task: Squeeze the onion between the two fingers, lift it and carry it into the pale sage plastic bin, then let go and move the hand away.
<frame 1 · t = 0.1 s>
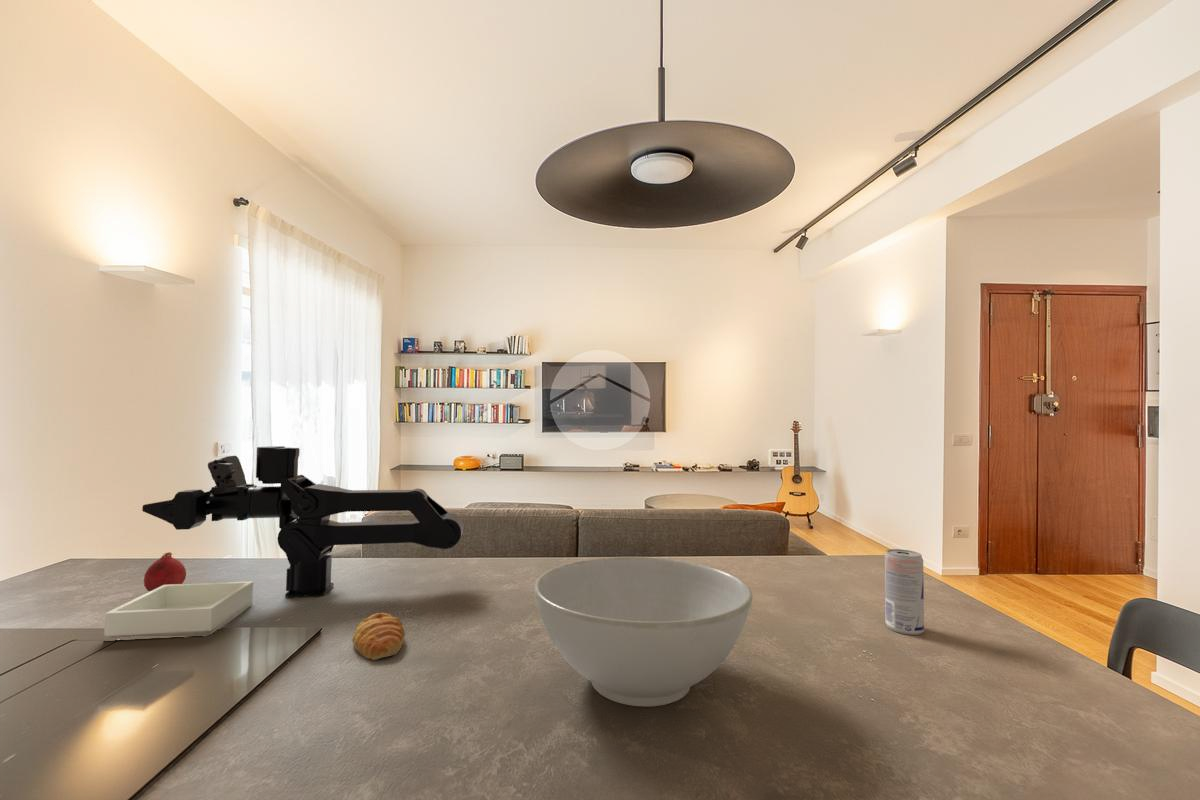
hand: (159, 504, 95), 17 cm above the countertop, tool horizontal, fingers open, 9 cm apart
decorative bowl: (640, 682, 66), on the countertop
bin: (184, 621, 84), on the countertop
energy drink: (904, 630, 85), on the countertop
onion: (164, 599, 95), on the countertop
pastry: (381, 648, 76), on the countertop
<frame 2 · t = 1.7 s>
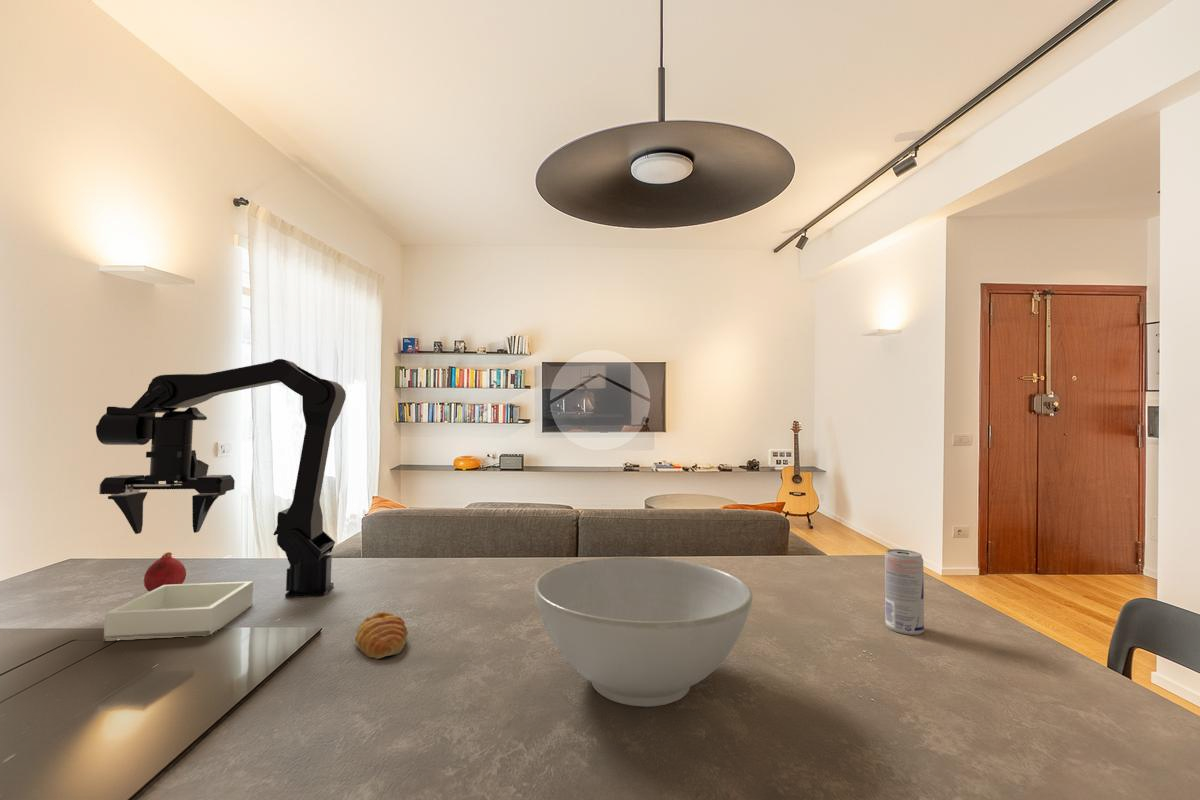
hand: (167, 532, 95), 11 cm above the countertop, tool pointing down, fingers open, 9 cm apart
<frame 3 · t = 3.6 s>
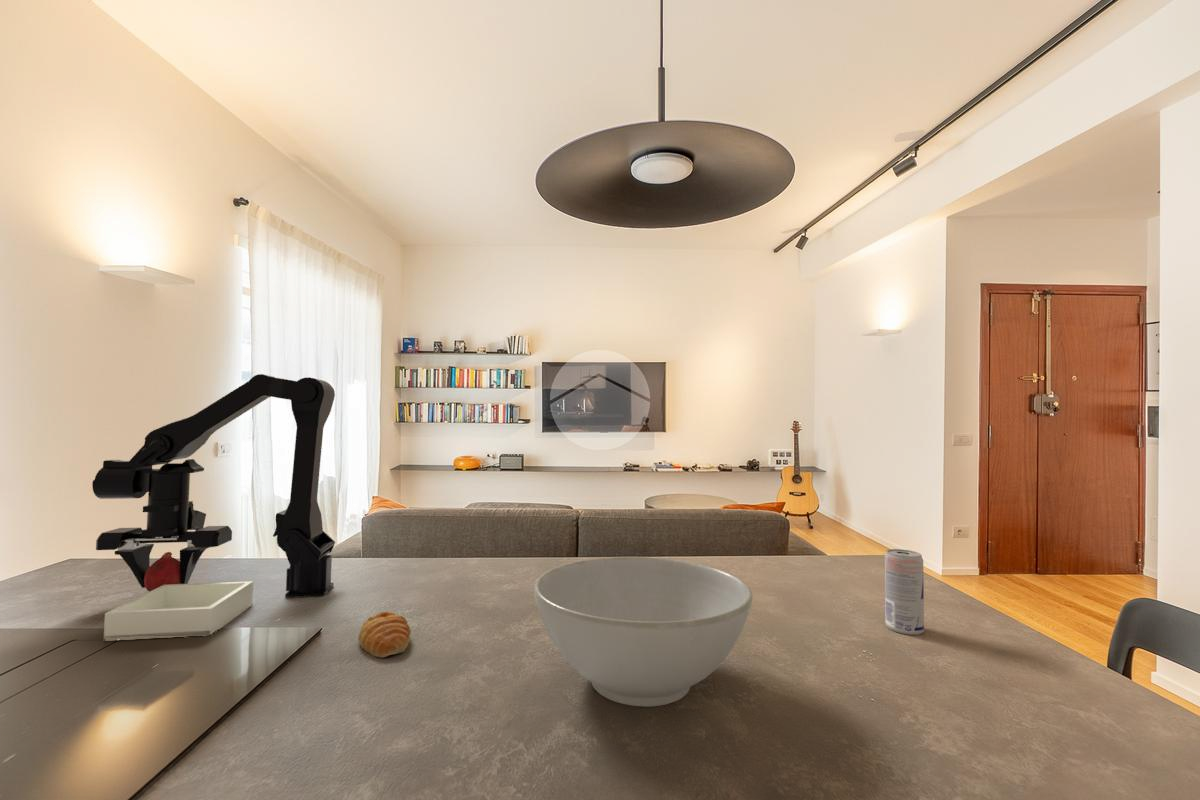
hand: (164, 586, 95), 2 cm above the countertop, tool pointing down, fingers closed on onion, 6 cm apart
onion: (164, 599, 95), on the countertop, touching gripper
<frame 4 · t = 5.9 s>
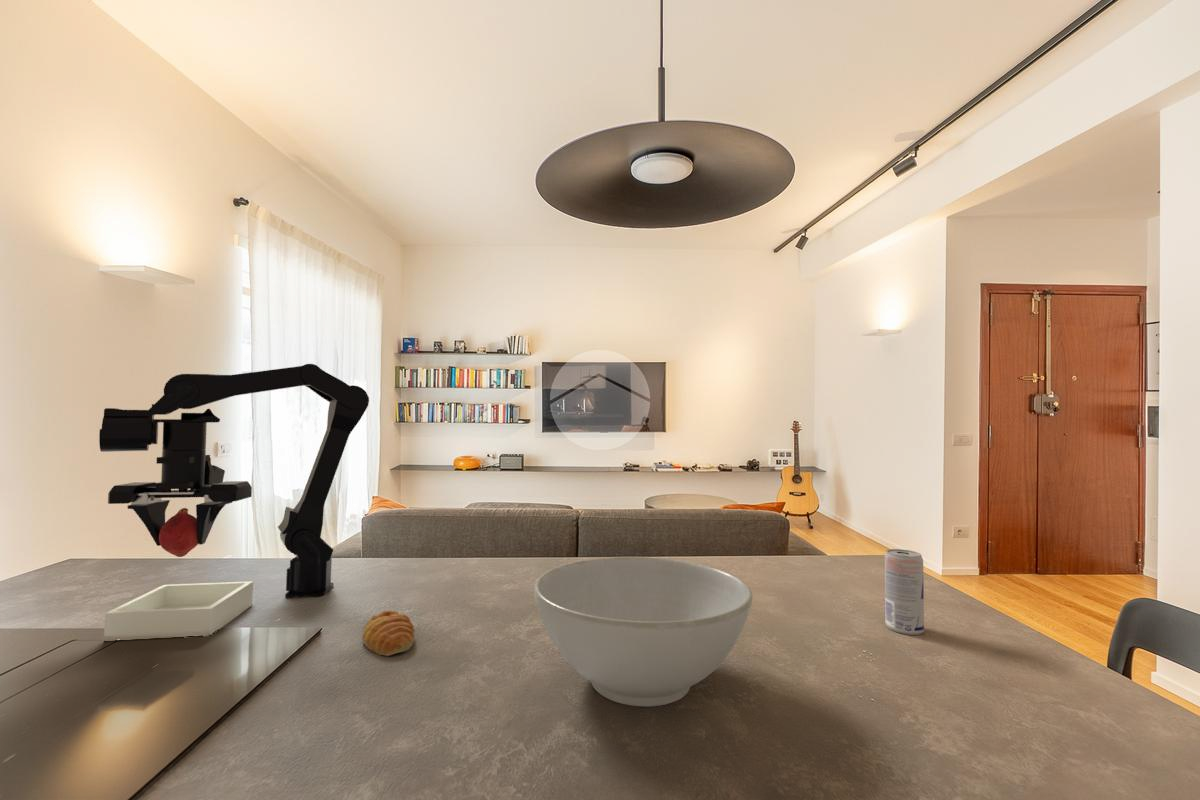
hand: (181, 544, 88), 11 cm above the countertop, tool pointing down, fingers closed on onion, 6 cm apart
onion: (180, 558, 88), point 9 cm above the countertop, touching gripper
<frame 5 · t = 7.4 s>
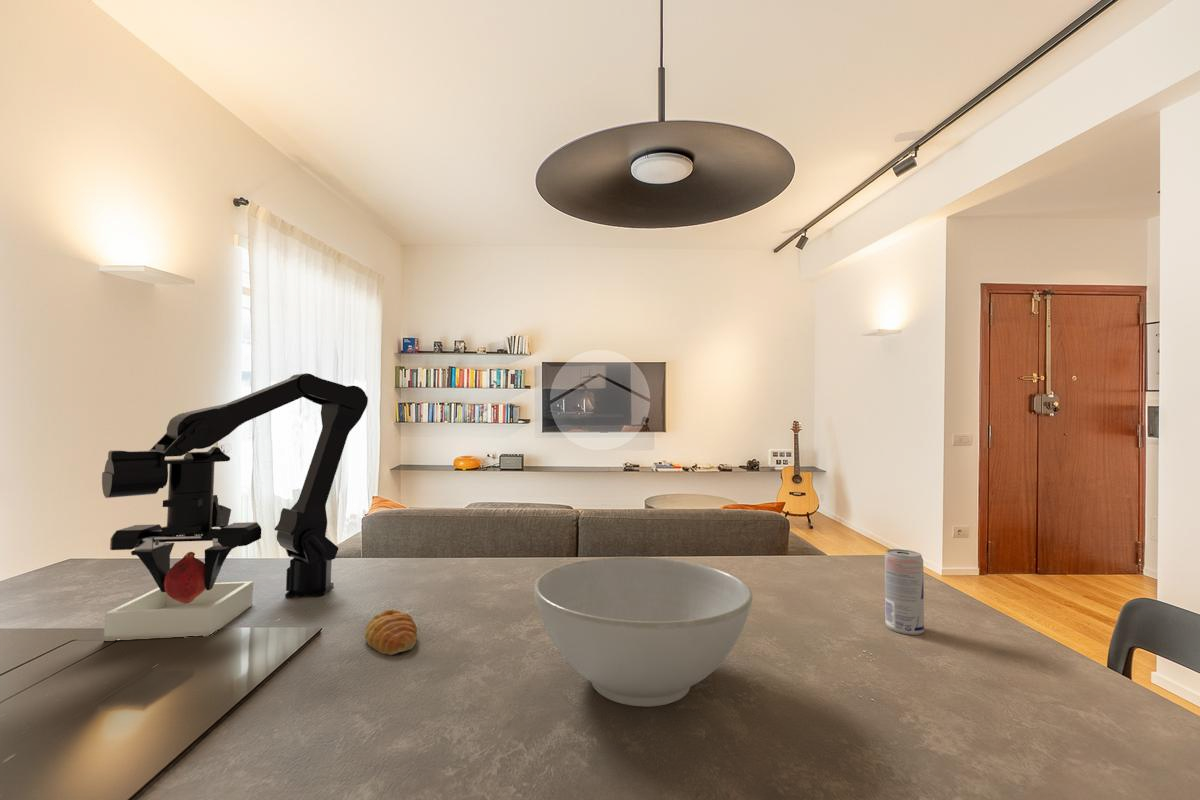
hand: (187, 590, 84), 5 cm above the countertop, tool pointing down, fingers closed on onion, 6 cm apart
onion: (186, 604, 84), point 3 cm above the countertop, touching gripper
when the fingers open (4 cm above the countertop, at t = 8.5 s): onion stays where it is, resting on bin.
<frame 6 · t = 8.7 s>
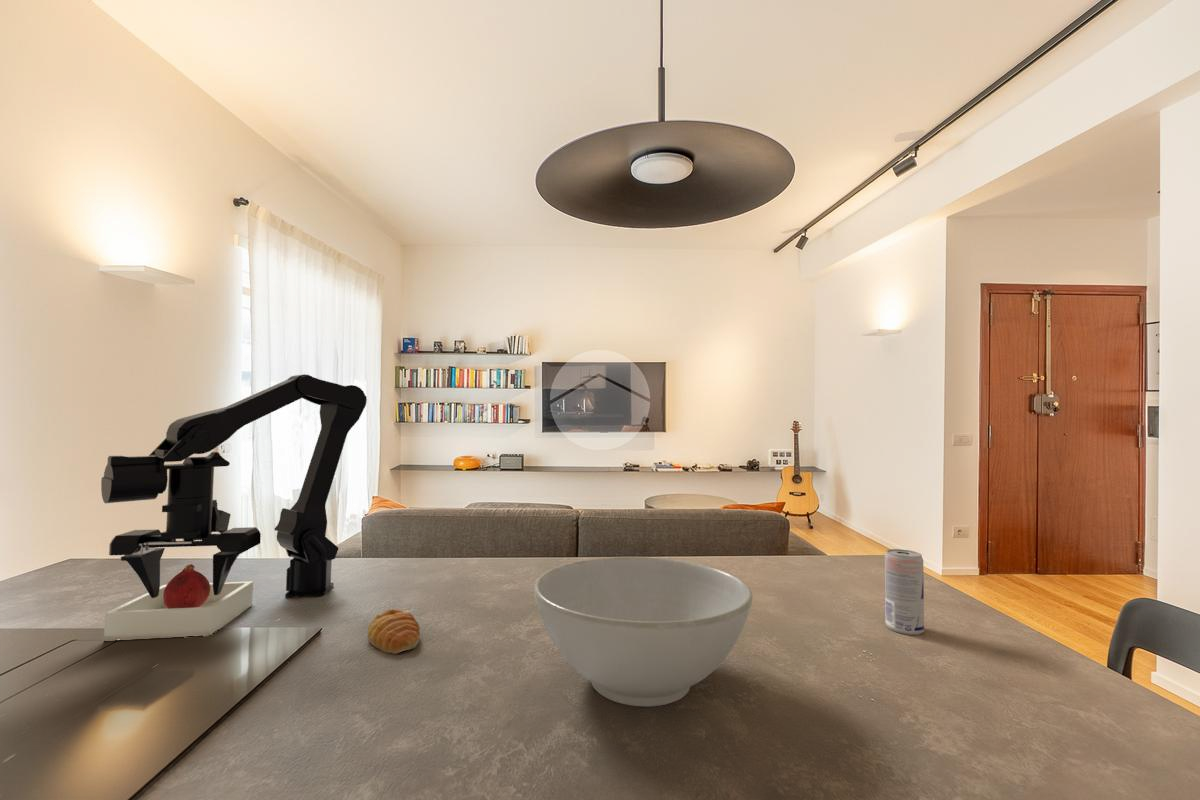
hand: (186, 595, 84), 4 cm above the countertop, tool pointing down, fingers open, 8 cm apart
onion: (186, 617, 84), point 1 cm above the countertop, touching bin
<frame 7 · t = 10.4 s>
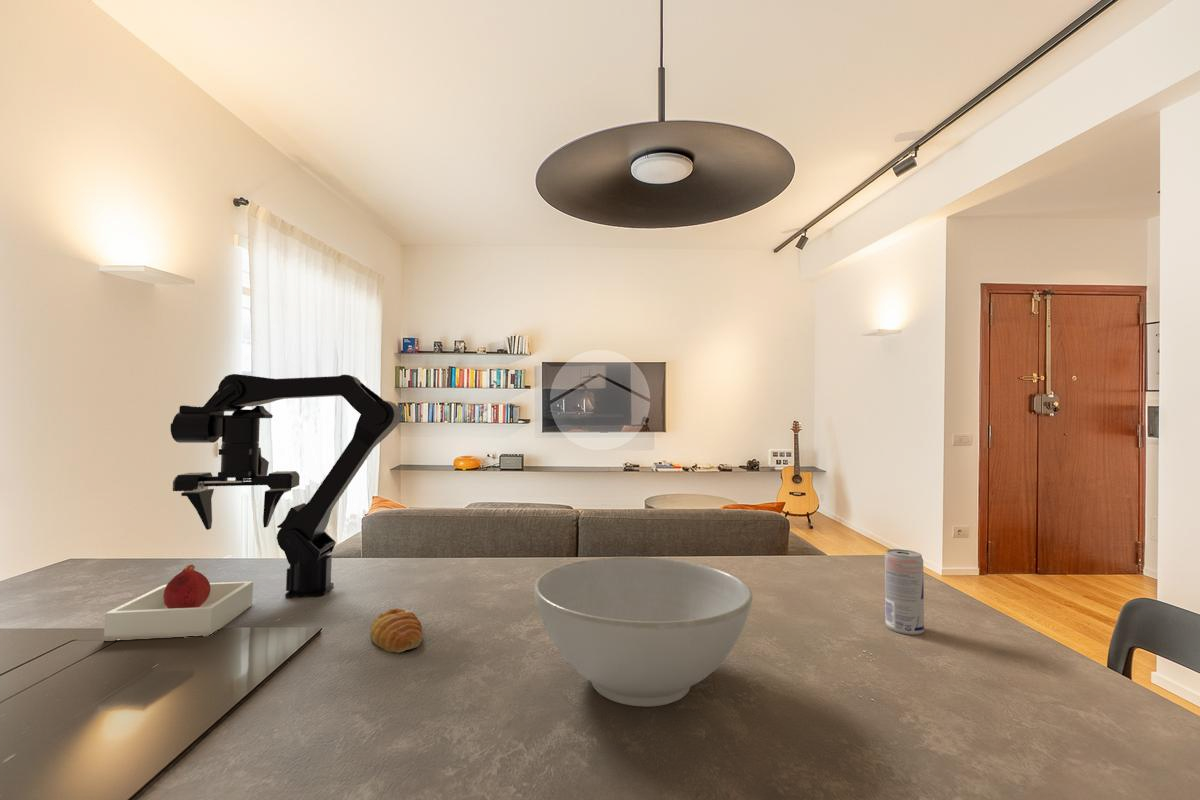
hand: (237, 528, 98), 12 cm above the countertop, tool pointing down, fingers open, 9 cm apart
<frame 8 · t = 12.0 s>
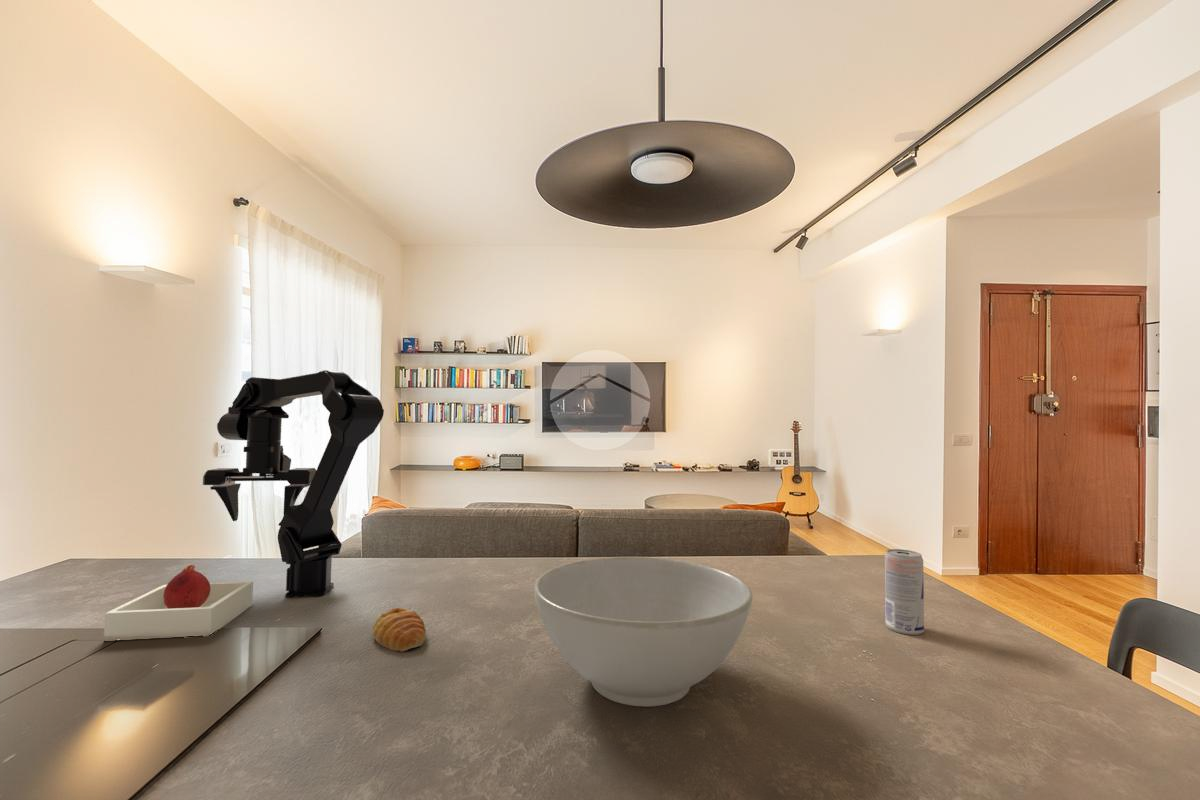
hand: (260, 520, 105), 12 cm above the countertop, tool pointing down, fingers open, 9 cm apart
at the end: onion inside the target area on the bin (0.1 cm from its centre), point 0.6 cm above the bin's base; the gripper is holding nothing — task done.
